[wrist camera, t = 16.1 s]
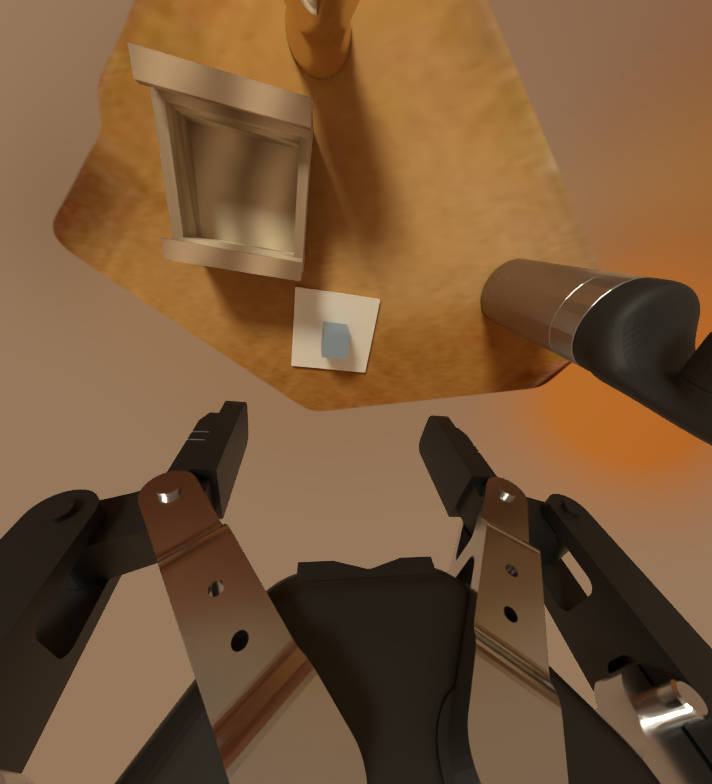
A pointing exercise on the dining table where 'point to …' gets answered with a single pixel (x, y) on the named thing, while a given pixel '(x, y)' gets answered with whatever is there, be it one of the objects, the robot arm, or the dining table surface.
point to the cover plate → (337, 313)
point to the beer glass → (319, 34)
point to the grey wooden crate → (230, 165)
